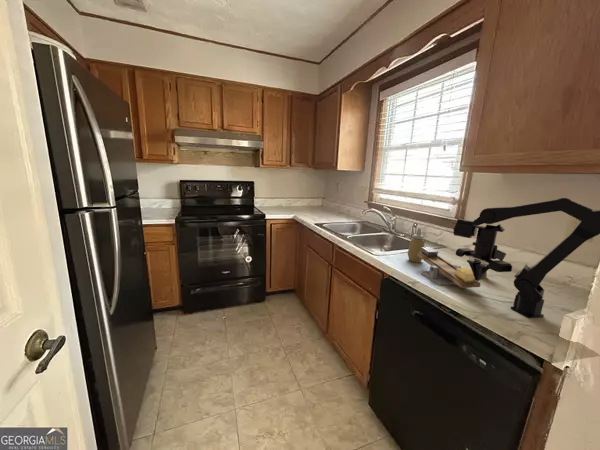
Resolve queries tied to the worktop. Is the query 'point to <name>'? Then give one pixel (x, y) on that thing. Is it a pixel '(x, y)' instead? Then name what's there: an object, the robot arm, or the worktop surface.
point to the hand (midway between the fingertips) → (477, 280)
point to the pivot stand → (438, 276)
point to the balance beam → (447, 270)
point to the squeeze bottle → (416, 246)
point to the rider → (465, 275)
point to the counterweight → (429, 252)
